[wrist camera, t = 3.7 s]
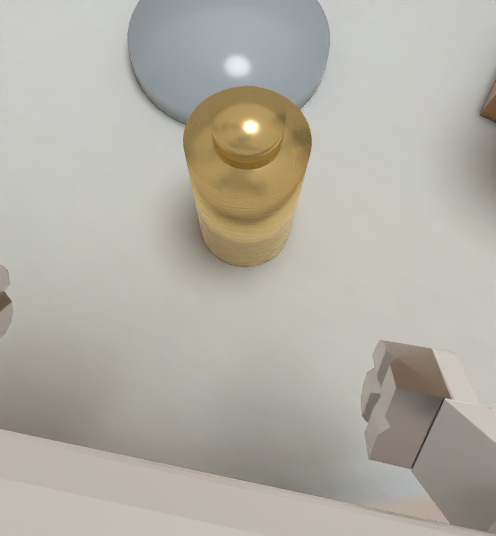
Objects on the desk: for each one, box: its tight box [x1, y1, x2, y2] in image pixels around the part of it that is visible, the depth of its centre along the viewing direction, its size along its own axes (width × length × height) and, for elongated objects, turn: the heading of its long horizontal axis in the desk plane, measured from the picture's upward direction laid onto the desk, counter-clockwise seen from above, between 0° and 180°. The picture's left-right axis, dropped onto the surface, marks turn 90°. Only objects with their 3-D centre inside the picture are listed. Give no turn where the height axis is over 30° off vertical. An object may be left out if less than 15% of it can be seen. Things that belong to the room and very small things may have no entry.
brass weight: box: [183, 86, 312, 267], centre depth 18 cm, size 4×4×8 cm
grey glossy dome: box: [128, 0, 330, 124], centre depth 25 cm, size 11×11×1 cm
